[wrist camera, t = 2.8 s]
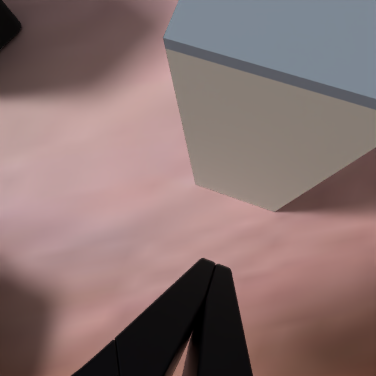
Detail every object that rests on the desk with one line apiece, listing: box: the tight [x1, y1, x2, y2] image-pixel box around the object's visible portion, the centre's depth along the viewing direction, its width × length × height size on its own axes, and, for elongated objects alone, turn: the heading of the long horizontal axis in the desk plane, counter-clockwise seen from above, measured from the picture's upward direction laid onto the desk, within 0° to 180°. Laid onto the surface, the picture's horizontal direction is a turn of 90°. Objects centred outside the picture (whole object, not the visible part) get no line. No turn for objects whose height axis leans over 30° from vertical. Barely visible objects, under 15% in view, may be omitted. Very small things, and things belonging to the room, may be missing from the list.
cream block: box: [163, 0, 376, 212], centre depth 12 cm, size 4×4×12 cm
